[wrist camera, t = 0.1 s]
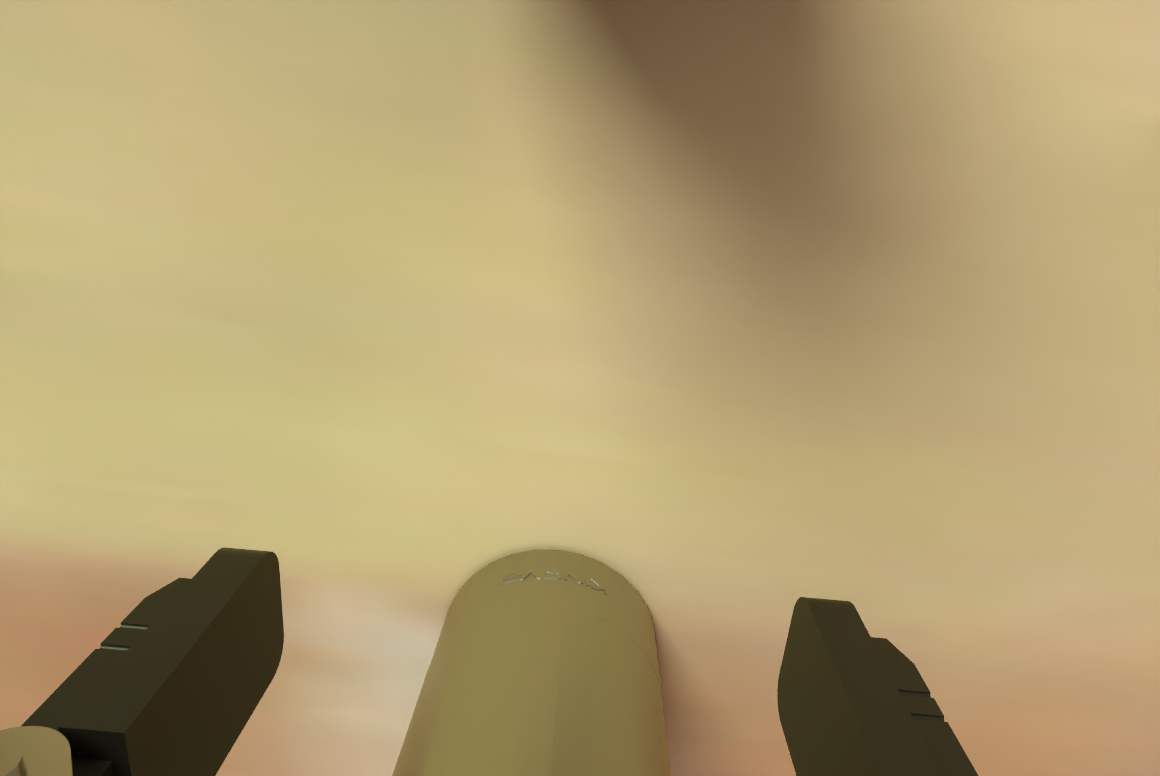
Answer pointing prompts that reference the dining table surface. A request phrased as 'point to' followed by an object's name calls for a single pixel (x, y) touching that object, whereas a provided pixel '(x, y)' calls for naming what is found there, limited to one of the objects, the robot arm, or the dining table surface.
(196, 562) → the dining table surface
